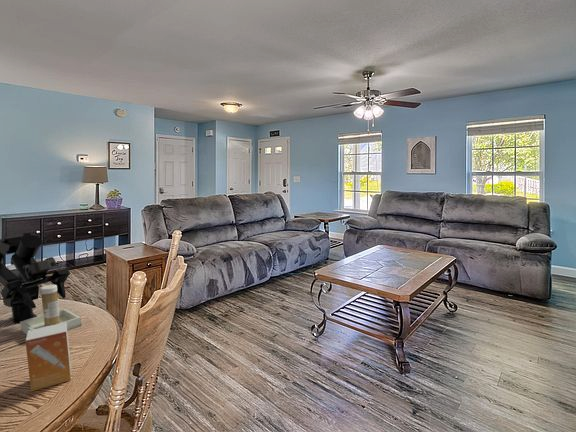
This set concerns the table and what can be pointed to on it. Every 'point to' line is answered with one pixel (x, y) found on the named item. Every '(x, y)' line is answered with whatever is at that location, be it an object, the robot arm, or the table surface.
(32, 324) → the tray
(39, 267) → the robot arm
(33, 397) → the table surface
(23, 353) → the table surface
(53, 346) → the small box
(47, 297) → the sprinkles bottle
